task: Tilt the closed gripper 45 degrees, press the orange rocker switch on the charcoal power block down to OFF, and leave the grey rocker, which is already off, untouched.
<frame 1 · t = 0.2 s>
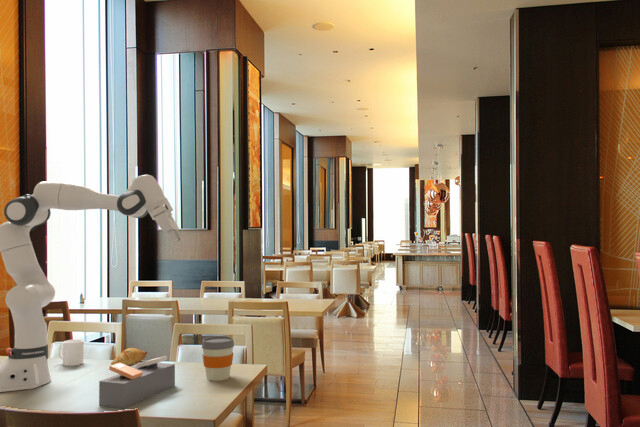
hand: (177, 241, 212), 54 cm above the table, tool tilted 30°, fingers open, 8 cm apart
power block: (139, 394, 187), on the table
reusable coffee cup: (218, 378, 209), on the table
rocker grey: (151, 361, 194), point 10 cm above the table, hinge at -15.0°
croissant: (128, 363, 237), on the table
food container: (148, 378, 212), on the table
cup: (69, 364, 236), on the table
rocker orange: (125, 370, 181), point 10 cm above the table, hinge at 15.0°
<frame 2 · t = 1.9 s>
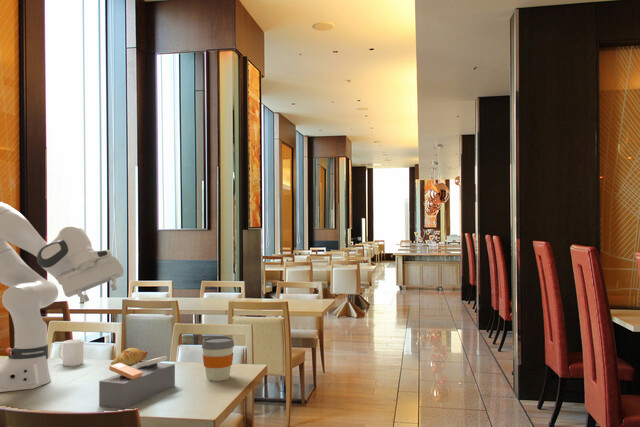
hand: (101, 294, 181), 36 cm above the table, tool tilted 40°, fingers open, 8 cm apart
nothing on the table moved.
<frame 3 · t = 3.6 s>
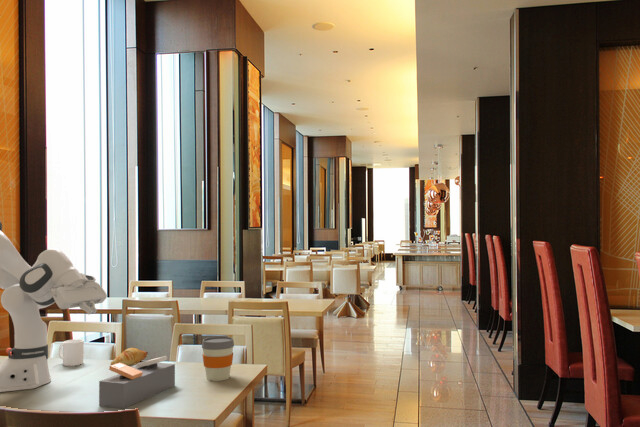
hand: (92, 312, 187), 29 cm above the table, tool tilted 45°, fingers closed
nothing on the table moved.
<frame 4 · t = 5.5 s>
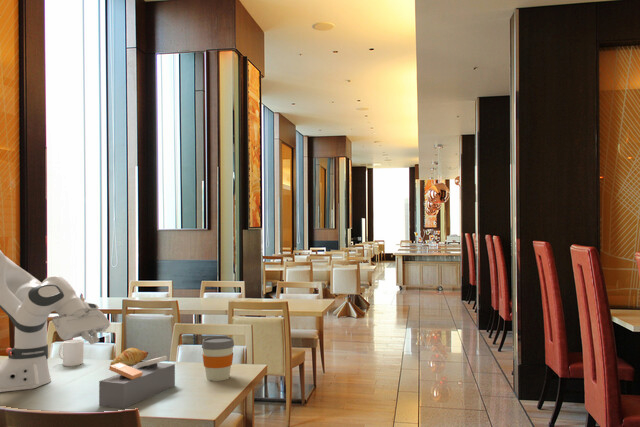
hand: (95, 342, 185), 19 cm above the table, tool tilted 45°, fingers closed
nothing on the table moved.
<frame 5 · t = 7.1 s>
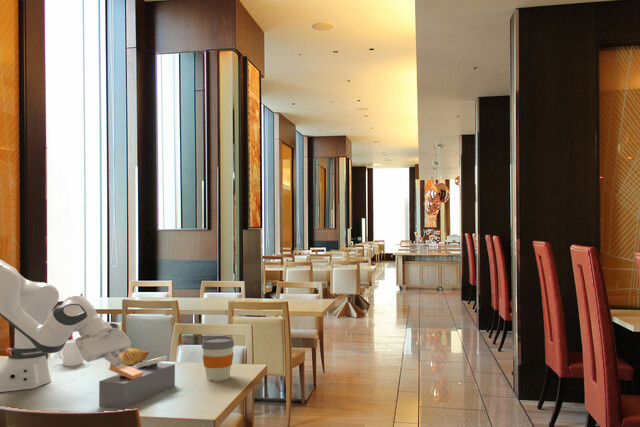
hand: (118, 363, 182), 12 cm above the table, tool tilted 45°, fingers closed, pressing on rocker orange
rocker orange: (125, 370, 181), point 10 cm above the table, hinge at 15.0°, touching gripper
everything else where it was.
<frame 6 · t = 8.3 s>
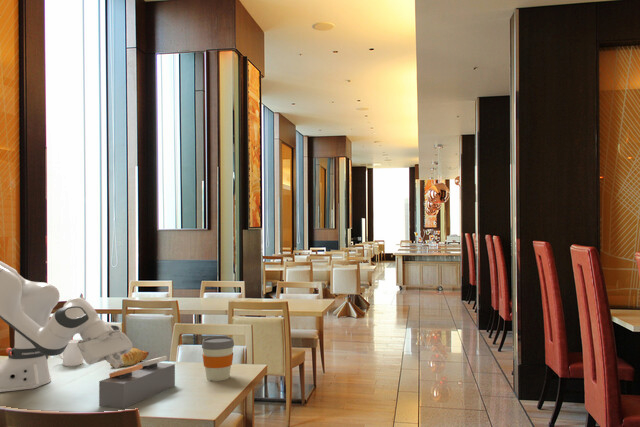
hand: (120, 366, 183), 11 cm above the table, tool tilted 45°, fingers closed
rocker orange: (125, 370, 181), point 10 cm above the table, hinge at -16.4°
everything else where it was.
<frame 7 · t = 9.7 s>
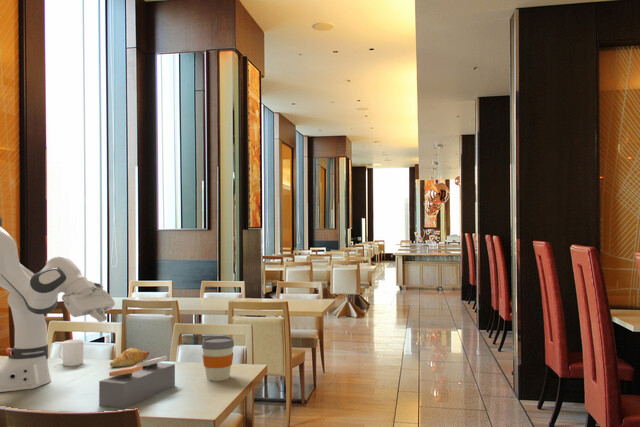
hand: (103, 320, 188), 26 cm above the table, tool tilted 45°, fingers closed
rocker orange: (125, 370, 181), point 10 cm above the table, hinge at -11.8°
everything else where it was.
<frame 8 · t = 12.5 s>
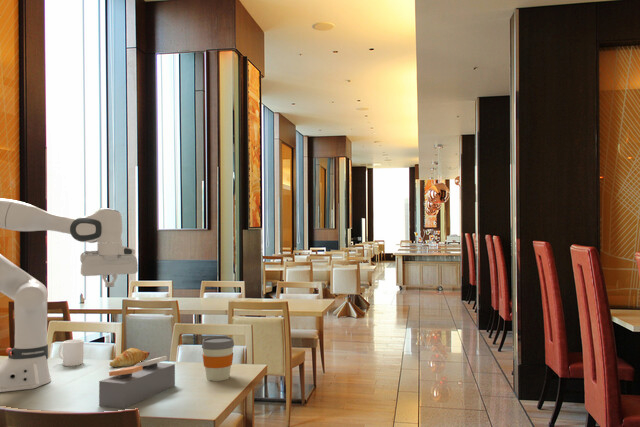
hand: (109, 286, 201), 37 cm above the table, tool pointing down, fingers closed
rocker orange: (125, 370, 181), point 10 cm above the table, hinge at -10.6°
everything else where it was.
at the end: rocker orange at -11° (first picture: +15°); rocker grey at -15° (first picture: -15°) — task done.
